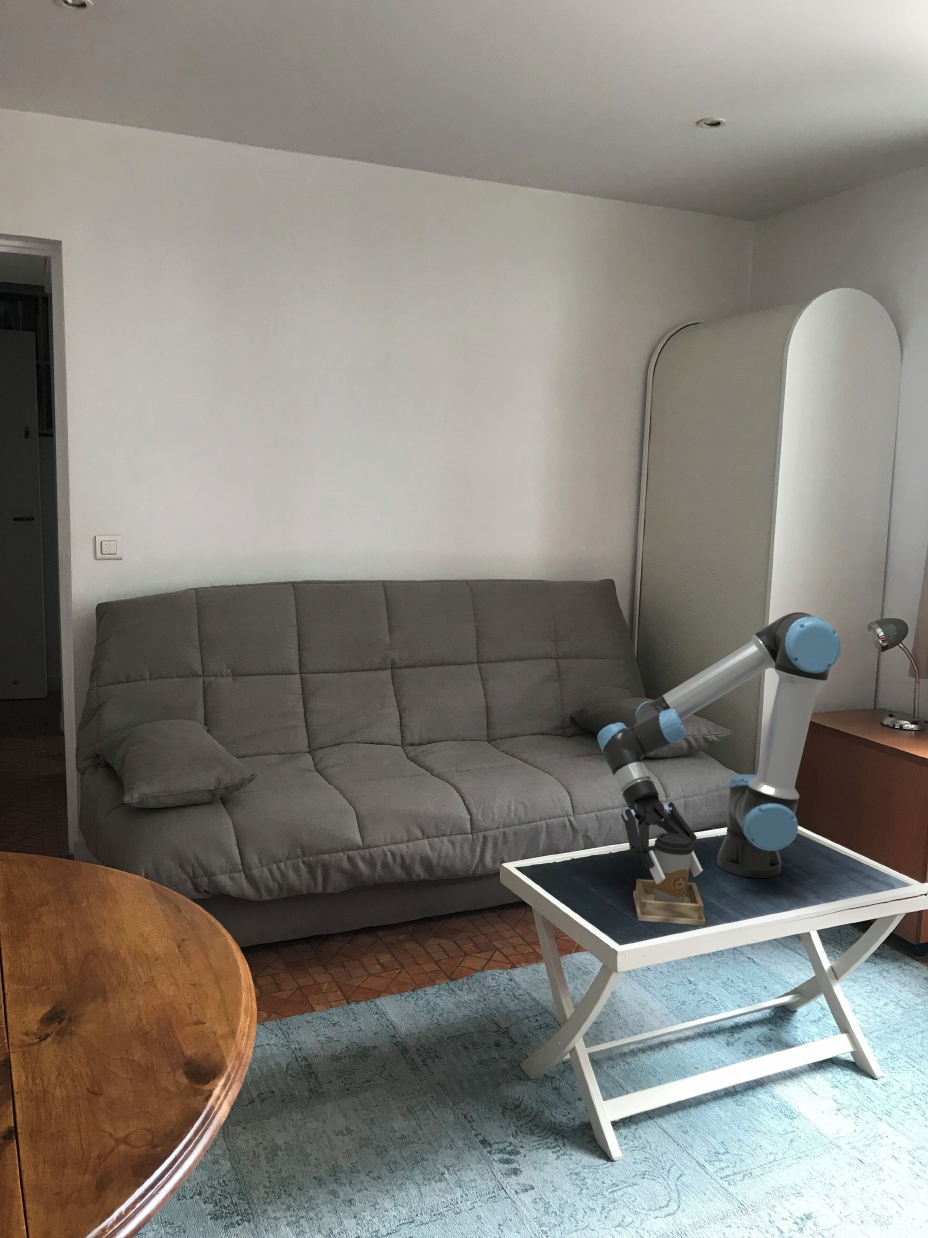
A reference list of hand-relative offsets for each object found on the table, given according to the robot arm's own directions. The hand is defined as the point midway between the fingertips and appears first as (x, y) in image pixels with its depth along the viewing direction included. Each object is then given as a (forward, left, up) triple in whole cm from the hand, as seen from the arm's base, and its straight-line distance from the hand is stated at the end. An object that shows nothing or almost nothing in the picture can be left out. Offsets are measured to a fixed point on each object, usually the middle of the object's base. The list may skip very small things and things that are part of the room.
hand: (679, 877), depth 214 cm
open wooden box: (+2, -2, -8) cm, 9 cm away
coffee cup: (+2, -3, -8) cm, 8 cm away
